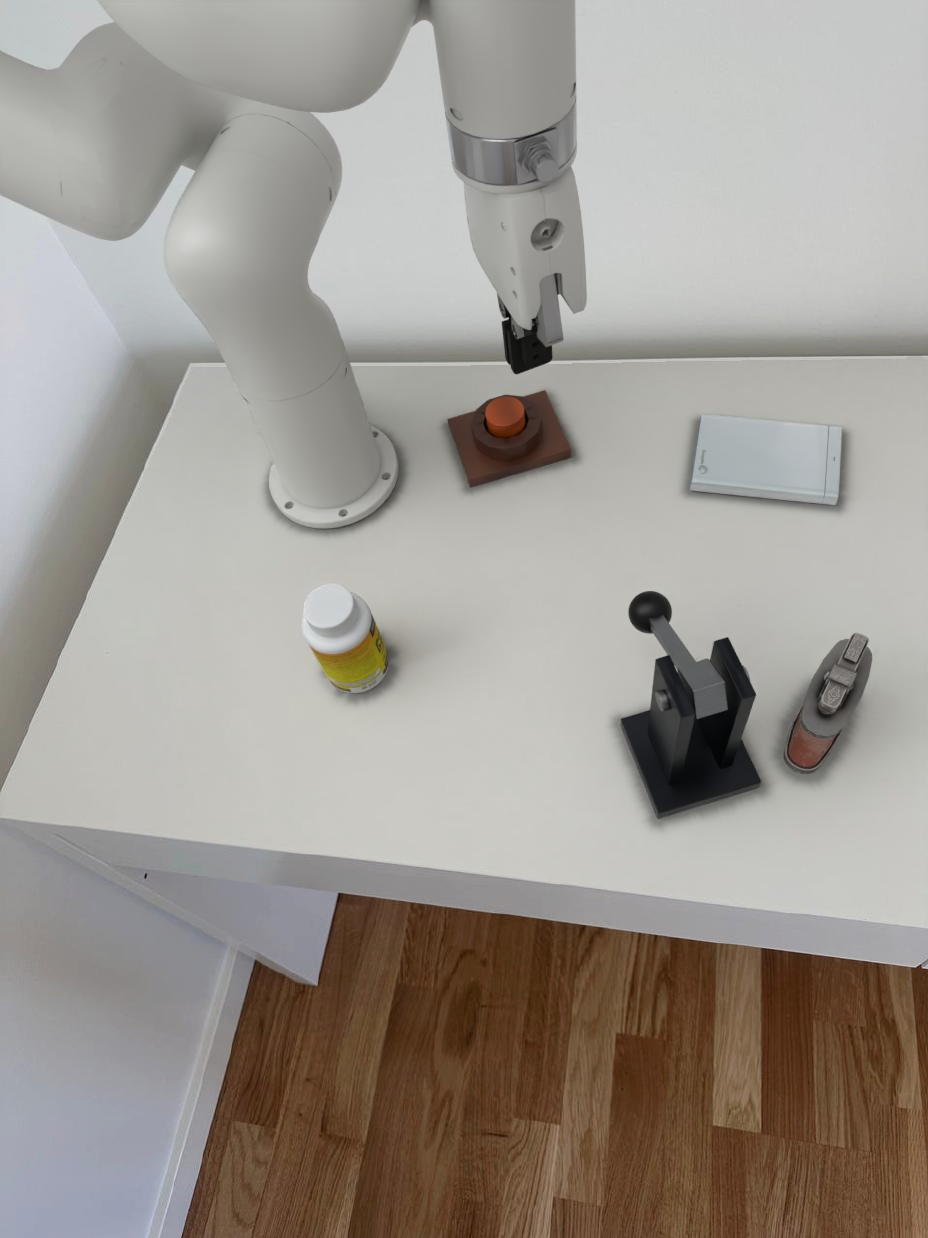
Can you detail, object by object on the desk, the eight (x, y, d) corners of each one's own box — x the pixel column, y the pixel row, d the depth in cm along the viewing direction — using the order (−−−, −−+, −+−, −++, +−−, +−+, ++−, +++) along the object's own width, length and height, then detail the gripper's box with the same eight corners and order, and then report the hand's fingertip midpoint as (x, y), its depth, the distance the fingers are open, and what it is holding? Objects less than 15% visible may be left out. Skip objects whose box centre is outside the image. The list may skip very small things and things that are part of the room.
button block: (469, 487, 86) (465, 467, 83) (448, 427, 90) (444, 405, 87) (571, 457, 86) (570, 436, 84) (545, 398, 90) (544, 376, 88)
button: (493, 442, 85) (491, 430, 83) (482, 415, 87) (480, 402, 85) (530, 431, 85) (529, 419, 83) (519, 404, 87) (517, 391, 85)
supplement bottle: (401, 677, 77) (375, 616, 68) (341, 707, 76) (307, 649, 67) (375, 627, 80) (347, 562, 71) (317, 655, 79) (282, 593, 70)
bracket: (620, 725, 72) (623, 642, 60) (716, 695, 72) (738, 607, 61) (657, 819, 68) (668, 750, 56) (759, 788, 68) (792, 712, 56)
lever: (625, 624, 71) (619, 590, 69) (665, 613, 71) (660, 578, 69) (689, 726, 60) (684, 688, 58) (736, 712, 60) (732, 674, 58)
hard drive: (690, 481, 81) (839, 495, 78) (701, 411, 85) (843, 422, 82) (689, 492, 82) (835, 507, 80) (699, 423, 86) (839, 434, 83)
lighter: (817, 782, 68) (848, 729, 59) (773, 761, 69) (797, 706, 61) (857, 695, 71) (892, 633, 62) (814, 677, 72) (843, 613, 63)
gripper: (627, 180, 50) (617, 411, 66) (521, 49, 58) (535, 285, 73) (501, 225, 50) (522, 447, 65) (410, 87, 57) (448, 316, 73)
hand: (529, 361), depth 69 cm, fingers closed
